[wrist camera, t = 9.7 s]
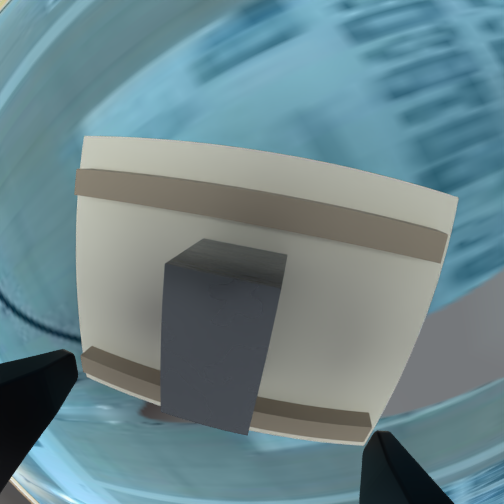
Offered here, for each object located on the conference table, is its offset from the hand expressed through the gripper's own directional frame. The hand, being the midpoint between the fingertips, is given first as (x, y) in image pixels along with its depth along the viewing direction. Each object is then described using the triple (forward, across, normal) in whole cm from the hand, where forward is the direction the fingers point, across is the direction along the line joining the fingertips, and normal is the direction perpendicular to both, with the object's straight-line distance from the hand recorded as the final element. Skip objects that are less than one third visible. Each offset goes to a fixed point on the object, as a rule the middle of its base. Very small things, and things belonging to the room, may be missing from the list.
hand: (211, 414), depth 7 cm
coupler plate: (+11, +1, +2) cm, 11 cm away
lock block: (+10, +1, +2) cm, 10 cm away
